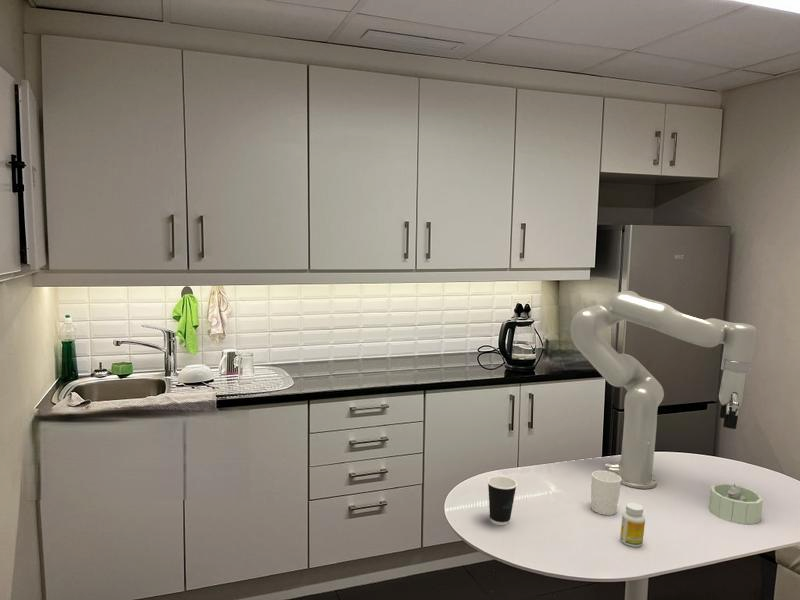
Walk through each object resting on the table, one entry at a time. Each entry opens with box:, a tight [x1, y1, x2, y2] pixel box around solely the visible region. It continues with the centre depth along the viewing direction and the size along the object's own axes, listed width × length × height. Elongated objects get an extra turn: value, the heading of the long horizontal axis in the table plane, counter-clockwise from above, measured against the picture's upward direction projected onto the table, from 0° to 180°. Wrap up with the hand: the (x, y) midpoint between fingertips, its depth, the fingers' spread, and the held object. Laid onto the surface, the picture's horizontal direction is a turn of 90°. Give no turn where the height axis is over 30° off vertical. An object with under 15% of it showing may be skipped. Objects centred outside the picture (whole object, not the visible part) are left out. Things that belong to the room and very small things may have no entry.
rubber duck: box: [726, 483, 746, 502], centre depth 170 cm, size 5×7×8 cm
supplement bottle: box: [619, 502, 646, 548], centre depth 151 cm, size 5×5×10 cm
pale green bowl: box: [708, 483, 764, 525], centre depth 170 cm, size 13×13×6 cm
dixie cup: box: [486, 475, 518, 526], centre depth 159 cm, size 8×8×11 cm
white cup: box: [590, 470, 622, 516], centre depth 168 cm, size 8×8×10 cm
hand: (727, 423), depth 175 cm, fingers open, 9 cm apart
